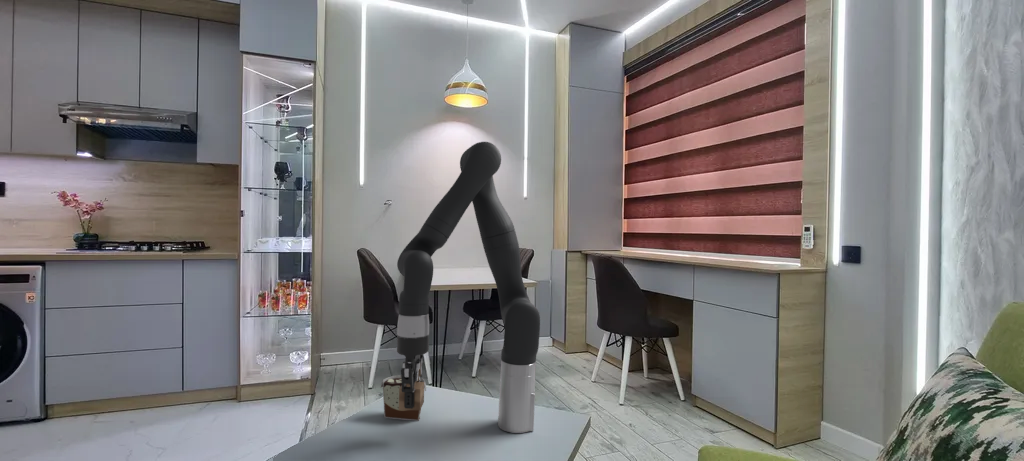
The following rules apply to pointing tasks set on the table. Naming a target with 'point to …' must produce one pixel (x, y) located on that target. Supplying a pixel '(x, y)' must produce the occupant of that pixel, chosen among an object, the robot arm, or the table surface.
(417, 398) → the walnut cube
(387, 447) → the table surface
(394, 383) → the food container
